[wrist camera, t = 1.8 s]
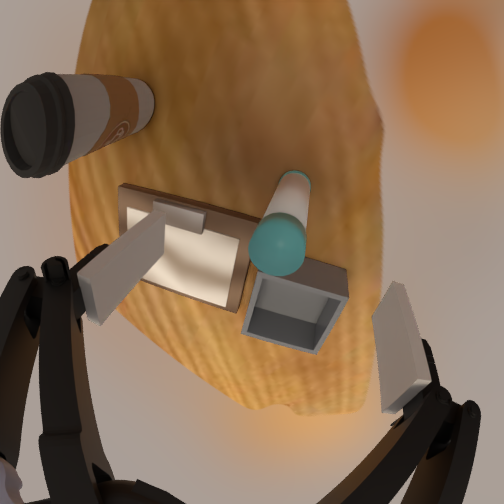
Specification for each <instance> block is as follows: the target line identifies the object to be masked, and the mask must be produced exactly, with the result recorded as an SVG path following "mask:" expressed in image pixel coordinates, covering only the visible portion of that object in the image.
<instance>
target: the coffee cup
mask: <svg viewBox="0 0 504 504" xmlns="http://www.w3.org/2000/svg"><path fill="white" fill-rule="evenodd" d="M153 110H154V97H153V94H152V91H151V89H150V88H149V87H148V86H147V85H146V83H145V82H143V81H141V80H139V79H134V78H125V77H120V76H113V75H99V74H80V75H77V74H73V75H72V74H55V73H50V72H46V73H43V74H41V75H34V76H32V77H30V78H27V80H25V81H24V82H23V83H21V84H18V85H16V86H15V87H14V88H13V90H11V92H10V94H9V95H8V97H7V99H6V102H5V104H4V108H3V112H2V117H1V142H2V147H3V151H4V154H5V157H6V159H7V162H8V163H9V165H10V167H11V169H12V170H13V171H14V172H15V173H16V174H17V175H18V176H20V177H22V178H30V177H33V178H41V177H44V176H46V175H51V174H53V173H55V172H58V170H60V169H61V168H62V166H64V165H65V164H67V163H69V162H71V161H73V160H75V159H77V158H79V157H81V156H85V155H88V154H90V153H92V152H94V151H96V150H98V149H100V148H102V147H105V146H107V145H109V144H111V143H114V142H116V141H118V140H121V139H123V138H125V137H127V136H128V135H131V134H133V133H136V132H138V131H140V130H141V129H142V128H144V127H145V125H146V124H147V123H148V122H149V120H150V118H151V116H152V114H153Z"/></svg>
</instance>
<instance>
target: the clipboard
mask: <svg viewBox="0 0 504 504" xmlns="http://www.w3.org/2000/svg"><path fill="white" fill-rule="evenodd" d="M154 210H156V211H160V212H164V213H166V222H165V240H164V254H163V255H162V257H161V258H160V259H159V260H158V261H157V262H156V263H155V264H154V265H153V266H152V267H151V269H150V270H149V271H148V272H147V273H146V274H145V275H144V276H143V277H142V279H141V281H144V282H146V283H149V284H152V285H154V286H157V287H160V288H163V289H165V290H168V291H171V292H174V293H176V294H179V295H182V296H185V297H188V298H191V299H194V300H196V301H199V302H202V303H205V304H208V305H211V306H214V307H217V308H220V309H224V310H227V311H230V312H233V313H237V311H238V308H239V305H240V301H241V296H242V292H243V288H244V284H245V280H246V276H247V272H248V268H249V264H250V260H251V259H250V257H249V252H248V246H249V242H250V240H251V238H252V236H253V234H254V231H255V229H256V227H257V225H258V223H259V222H260V218H256V217H252V216H249V215H245V214H242V213H238V212H235V211H231V210H227V209H224V208H220V207H216V206H213V205H209V204H205V203H201V202H198V201H194V200H190V199H186V198H182V197H178V196H175V195H171V194H167V193H163V192H159V191H155V190H151V189H147V188H142V187H138V186H134V185H130V184H126V183H123V184H121V185H120V186H118V211H119V236H121V235H123V234H124V233H125V232H126V231H128V230H129V229H130V228H131V227H133V226H134V225H135V224H137V223H138V222H139V221H141V220H142V219H143V218H144V217H146V216H147V215H148V214H150V213H151V212H152V211H154Z"/></svg>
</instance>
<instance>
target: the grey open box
mask: <svg viewBox="0 0 504 504" xmlns="http://www.w3.org/2000/svg"><path fill="white" fill-rule="evenodd" d="M348 299H349V291H348V281H347V271H346V269H343V268H340V267H336V266H333V265H330V264H326V263H323V262H320V261H316V260H313V259H310V258H306V257H305V258H304V261H303V263H302V265H301V266H300V268H299V269H298V270H296V271H295V272H293V273H291V274H289V275H286V276H272V275H268V274H266V273H264V272H262V271H260V270H258V273H257V277H256V280H255V284H254V288H253V291H252V295H251V299H250V302H249V306H248V309H247V313H246V317H245V320H244V324H243V328H242V331H241V334H244V335H247V336H250V337H254V338H257V339H260V340H264V341H267V342H271V343H274V344H278V345H281V346H285V347H289V348H292V349H296V350H300V351H304V352H308V353H312V354H316V355H317V353H318V351H319V350H320V348H321V346H322V345H323V343H324V341H325V340H326V338H327V336H328V335H329V333H330V331H331V330H332V328H333V326H334V324H335V323H336V321H337V319H338V317H339V316H340V314H341V312H342V310H343V308H344V307H345V305H346V303H347V301H348Z"/></svg>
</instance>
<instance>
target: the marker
mask: <svg viewBox="0 0 504 504" xmlns="http://www.w3.org/2000/svg"><path fill="white" fill-rule="evenodd" d="M310 191H311V183H310V180H309V178H308V177H307V175H306V174H304V173H303V172H301V171H297V170H292V171H288V172H286V173H285V174H284V175H283V176H282V177H281V179H280V181H279V184H278V186H277V189H276V191H275V193H274V195H273V197H272V199H271V201H270V203H269V206H268V208H267V210H266V212H265V214H264V216H263V218H262V220H261V221H260V222H259V223H258V225H257V227H256V229H255V231H254V234H253V236H252V238H251V240H250V242H249V246H248V252H249V257H250V259H251V261H252V263H253V264H254V265H255V266H256V267H257V268H258V269H259V270H260V271H262V272H264V273H266V274H268V275H272V276H286V275H289V274H291V273H293V272H295V271H296V270H298V269H299V268H300V266H301V265H302V263H303V261H304V258H305V249H306V240H307V234H306V225H307V216H308V206H309V196H310Z"/></svg>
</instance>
